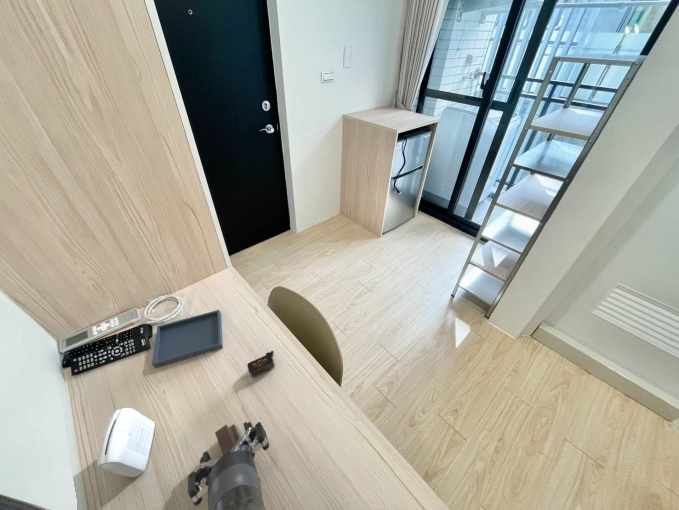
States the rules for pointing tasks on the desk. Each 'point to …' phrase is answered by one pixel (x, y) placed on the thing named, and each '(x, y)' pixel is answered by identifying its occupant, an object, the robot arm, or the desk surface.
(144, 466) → the photo printer
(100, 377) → the desk surface
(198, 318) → the tray
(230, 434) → the brown wooden block
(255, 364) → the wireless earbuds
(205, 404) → the desk surface
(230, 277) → the desk surface
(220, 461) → the robot arm
